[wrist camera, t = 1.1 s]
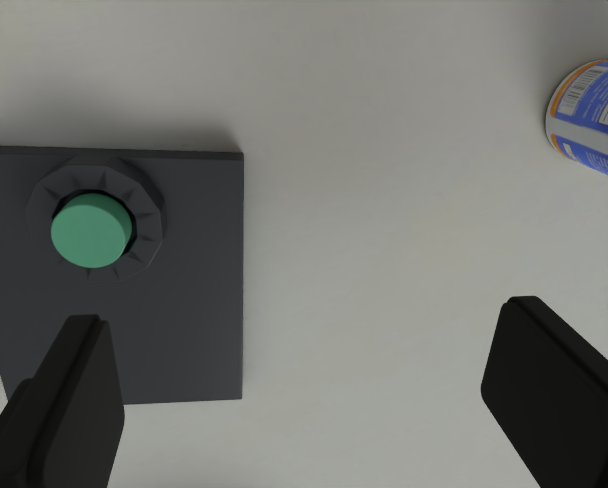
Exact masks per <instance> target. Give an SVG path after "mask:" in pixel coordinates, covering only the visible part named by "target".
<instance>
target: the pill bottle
mask: <svg viewBox="0 0 608 488" xmlns="http://www.w3.org/2000/svg"><path fill="white" fill-rule="evenodd" d="M545 125H546V133H547V137H548V139H549V141H550V143H551V145H552V146H553V147H554V148H555V149H556V150H557V151H558V152H559V153H561V154H562V155H564V156H565V157H567V158H569V159H572V160H574V161H576V162H579V163H581V164H583V165H586V166H588V167H591V168H593V169H595V170H598V171H600V172H602V173H605V174H607V175H608V59H604V60H597V61H592V62H590V63H587V64H585V65H583V66H581V67H579V68H577V69H576V70H574V71H573V72H572V73H570V74H569V75H568V76H567V77H566V78H565V79H564V80H563V81H562V82H561V84H560V85H559V86H558V88H557V89H556V91H555V92H554V94H553V96H552V98H551V100H550V103H549V106H548V109H547V113H546V123H545Z"/></svg>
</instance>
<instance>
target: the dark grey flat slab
mask: <svg viewBox="0 0 608 488" xmlns="http://www.w3.org/2000/svg"><path fill="white" fill-rule="evenodd" d="M87 193H97V194H102V195H106V196H108V197H111V198H112V199H114V200H116V201H117V202H119V203H120V204H121V205H122V206H123V207H124V208H125V210H126V211H127V213H128V215H129V217H130V219H131V224H132V232H131V236H130V238H129V240H128V242H127V244H126V247H125V249H124V251H123V253H122V254H121V256H120V257H119V258H118V259H117V260H116V261H114V262H113V263H111V264H109V265H106V266H103V267H98V268H88V267H82V266H79V265H76V264H74V263H72V262H70V261H68V260H67V259H65V258H64V257H63V256H62V255H61V254H60V253H59V252H58V251H57V249H56V248H55V246H54V244H53V241H52V238H51V226H52V222H53V220H54V218H55V217H56V216H57V214H58V213H59V212H60V211H61V210H62V209H63V208H64V207H65V205H66V204H67V203H68V202H69V201H70V200H72V199H73V198H75V197H77V196H79V195H82V194H87ZM243 201H244V155H243V153H232V152H197V151H162V150H127V149H92V148H56V147H21V146H0V375H1V379H2V382H3V386H4V389H5V393H6V396H7V399H8V401H9V400H10V398H11V396H12V395H13V393H14V391H15V390H16V388H17V386H18V385H19V384H20V383H21V381H23V380H24V379H26V378H33V377H34V375H35V373H36V372H37V370H38V368H39V366H40V365H41V363H42V361H43V359H44V358H45V356H46V354H47V352H48V351H49V349H50V347H51V345H52V344H53V342H54V340H55V338H56V337H57V335H58V333H59V331H60V330H61V328H62V326H63V324H64V323H65V321H66V319H67V318H68V317H69V316H70V315H85V314H98V315H99V317H100V319H101V320H107V321H108V322H109V325H110V330H111V336H112V342H113V348H114V353H115V359H116V365H117V371H118V377H119V383H120V389H121V394H122V400H123V405H129V404H150V403H171V402H193V401H214V400H235V399H242V356H243Z"/></svg>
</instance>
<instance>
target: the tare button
mask: <svg viewBox="0 0 608 488" xmlns="http://www.w3.org/2000/svg"><path fill="white" fill-rule="evenodd" d="M131 232H132V224H131V219H130V217H129V215H128V213H127V211H126V210H125V208H124V207H123V206H122V205H121V204H120V203H119V202H117V201H116V200H114V199H112V198H111V197H108V196H106V195H102V194H97V193H87V194H82V195H79V196H77V197H75V198H73V199H72V200H70V201H69V202H68V203H67V204H66V205H65V207H64V208H63V209H62V210H61V211H60V212H59V213H58V214H57V216H56V217H55V218H54V220H53V222H52V226H51V238H52V241H53V244H54V246H55V248H56V249H57V251H58V252H59V253H60V254H61V255H62V256H63V257H64V258H65V259H67V260H68V261H70V262H72V263H74V264H76V265H79V266H82V267H88V268H98V267H103V266H106V265H109V264H111V263H113V262H114V261H116V260H117V259H118V258H119V257H120V256H121V254H122V253H123V251H124V249H125V247H126V244H127V242H128V240H129V238H130V236H131Z"/></svg>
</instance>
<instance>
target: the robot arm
mask: <svg viewBox="0 0 608 488" xmlns="http://www.w3.org/2000/svg"><path fill="white" fill-rule="evenodd" d="M481 395H482V398H483V401H484V402H485V404H486V405H487V407H488V408H489V410H490V412H491V413H492V415H493V416H494V418H495V419H496V421H497V422H498V424H499V425H500V427H501V428H502V430H503V431H504V433H505V434H506V436H507V437H508V439H509V440H510V442H511V443H512V445H513V446H514V448H515V449H516V451H517V453H518V454H519V456H520V457H521V459H522V460H523V462H524V463H525V465H526V466H527V468H528V469H529V471H530V472H531V474H532V475H533V477H534V478H535V480H536V481H537V483H538V484H539V486H540V487H541V488H608V360H607V359H606V358H605V357H604V356H603V355H602V354H601V353H599V352H598V351H597V350H596V349H595V348H594V347H593V346H592V345H591V344H589V343H588V342H587V341H586V340H585V339H584V338H583V337H582V336H581V335H579V334H578V333H577V332H576V331H575V330H574V329H573V328H572V327H571V326H569V325H568V324H567V323H566V322H565V321H564V320H563V319H562V318H561V317H559V316H558V315H557V314H556V313H555V312H554V311H553V310H552V309H551V308H549V307H548V306H547V305H546V304H545V303H544V302H543V301H542V300H541V299H540V298H538V297H536V296H517V297H511V298H510V299H509V300H508V301H507V303H504V304H503V305H502V307H501V310H500V314H499V318H498V322H497V326H496V330H495V334H494V337H493V341H492V345H491V349H490V353H489V357H488V360H487V364H486V368H485V372H484V376H483V380H482V384H481ZM124 418H125V414H124V406H123V400H122V394H121V389H120V383H119V377H118V371H117V365H116V359H115V353H114V348H113V342H112V336H111V330H110V325H109V322H108V321H107V320H101V319H100V317H99V315H98V314H85V315H70V316H69V317H68V318H67V319H66V321H65V323H64V324H63V326H62V328H61V330H60V331H59V333H58V335H57V337H56V338H55V340H54V342H53V344H52V345H51V347H50V349H49V351H48V352H47V354H46V356H45V358H44V359H43V361H42V363H41V365H40V366H39V368H38V370H37V372H36V373H35V375H34V377H33V378H26V379H24V380H23V381H21V383H20V384H19V385H18V386H17V388H16V390H15V391H14V393H13V395H12V396H11V398H10V400H9V401H8V403H7V405H6V406H5V408H4V410H3V411H2V413H1V415H0V488H107V485H108V481H109V478H110V474H111V470H112V467H113V463H114V460H115V456H116V452H117V449H118V445H119V442H120V438H121V434H122V431H123V427H124Z"/></svg>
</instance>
